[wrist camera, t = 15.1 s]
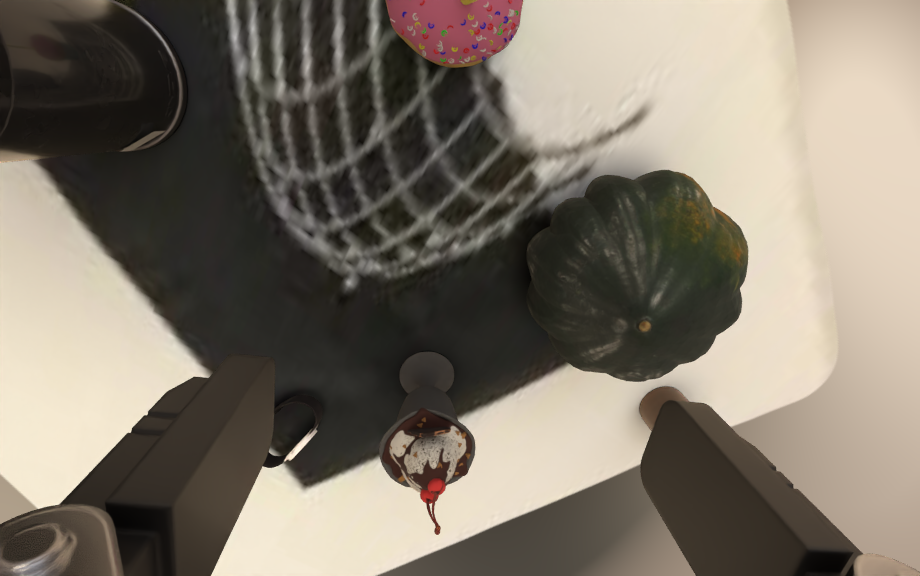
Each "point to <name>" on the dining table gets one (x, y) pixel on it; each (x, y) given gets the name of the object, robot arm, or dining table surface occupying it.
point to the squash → (636, 275)
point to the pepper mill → (657, 403)
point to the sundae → (427, 432)
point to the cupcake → (455, 28)
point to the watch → (317, 409)
